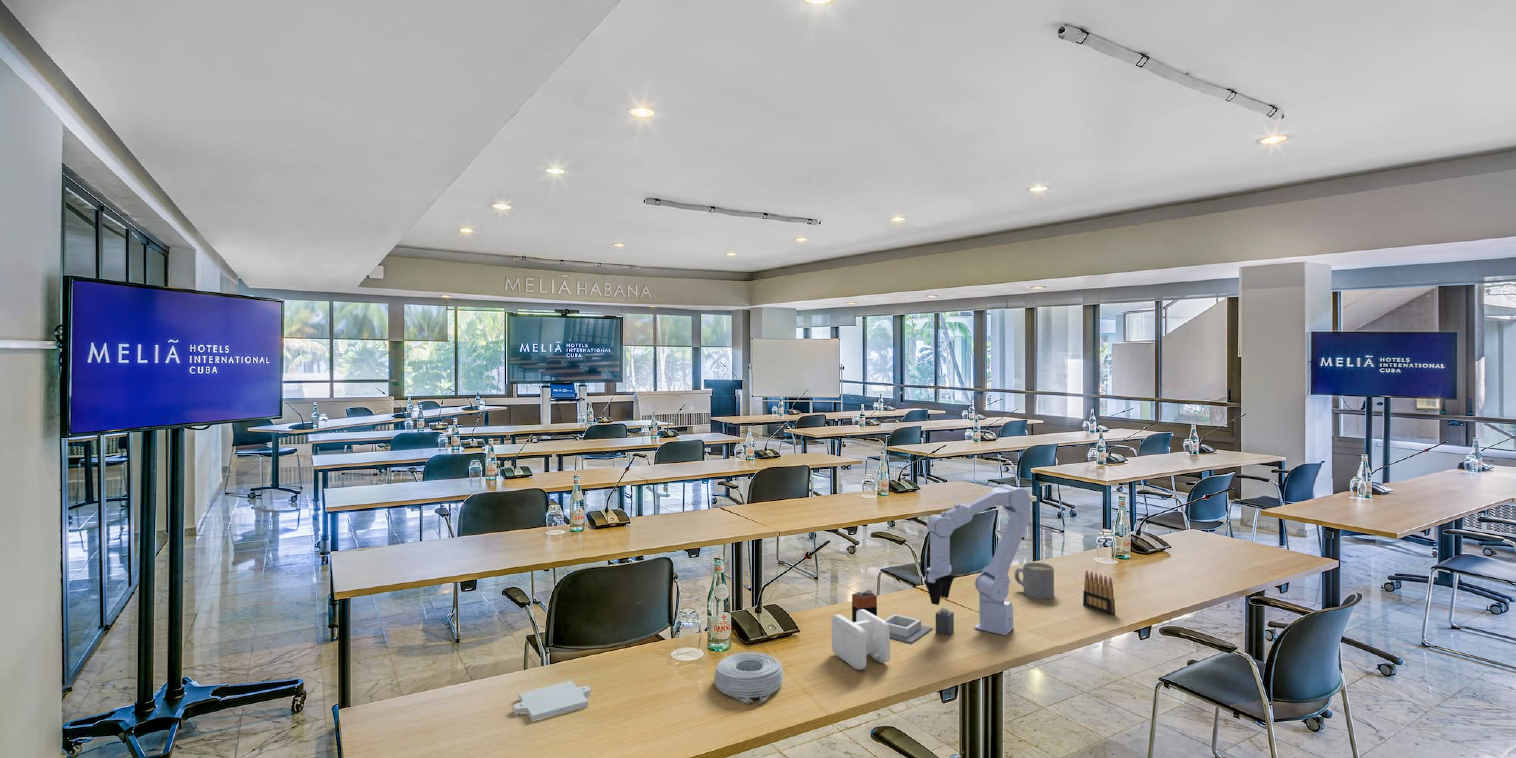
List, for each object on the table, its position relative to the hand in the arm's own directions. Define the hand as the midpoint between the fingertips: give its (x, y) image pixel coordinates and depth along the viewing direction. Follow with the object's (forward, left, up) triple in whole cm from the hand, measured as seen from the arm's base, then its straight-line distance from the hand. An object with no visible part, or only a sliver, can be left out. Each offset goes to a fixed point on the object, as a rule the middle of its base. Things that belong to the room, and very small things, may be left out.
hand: (939, 600), depth 206 cm
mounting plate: (+55, +98, -10) cm, 113 cm away
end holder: (+10, +6, -10) cm, 15 cm away
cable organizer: (+9, +32, -10) cm, 35 cm away
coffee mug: (-11, -55, -10) cm, 57 cm away
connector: (-1, -1, -10) cm, 10 cm away
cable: (+24, +62, -10) cm, 67 cm away
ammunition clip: (-33, -50, -10) cm, 61 cm away
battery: (+22, +7, -10) cm, 25 cm away
